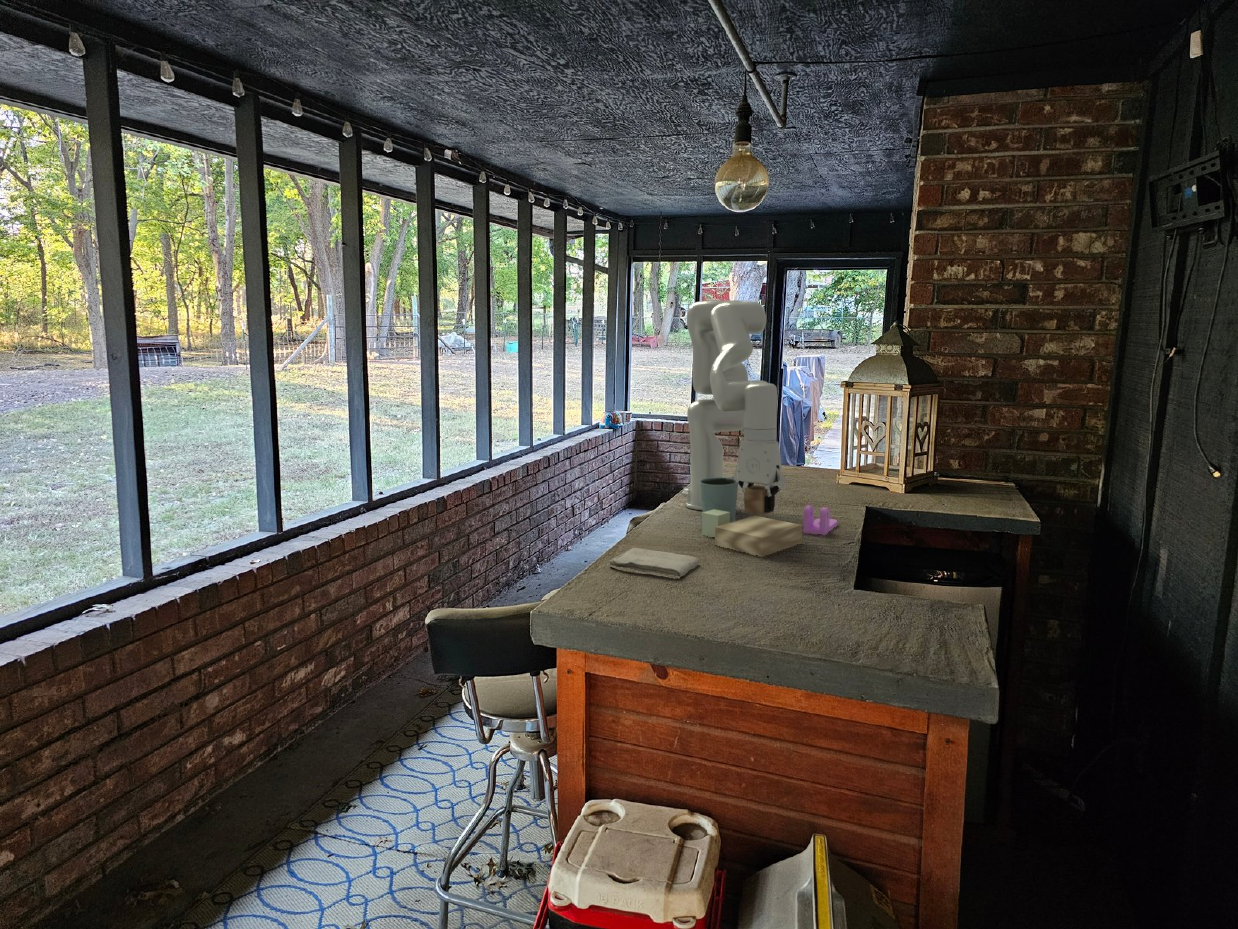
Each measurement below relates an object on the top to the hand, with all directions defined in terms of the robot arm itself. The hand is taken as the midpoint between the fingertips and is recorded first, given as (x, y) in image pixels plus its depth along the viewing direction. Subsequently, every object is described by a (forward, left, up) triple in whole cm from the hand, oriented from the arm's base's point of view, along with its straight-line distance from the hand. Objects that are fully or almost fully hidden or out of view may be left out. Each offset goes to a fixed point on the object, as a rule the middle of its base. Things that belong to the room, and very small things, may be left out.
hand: (759, 509), depth 187 cm
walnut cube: (0, 0, -1) cm, 1 cm away
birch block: (0, 0, -9) cm, 9 cm away
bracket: (+3, +24, -9) cm, 26 cm away
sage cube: (-13, 0, -9) cm, 16 cm away
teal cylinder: (-19, +9, -9) cm, 23 cm away
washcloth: (-7, -30, -10) cm, 33 cm away
